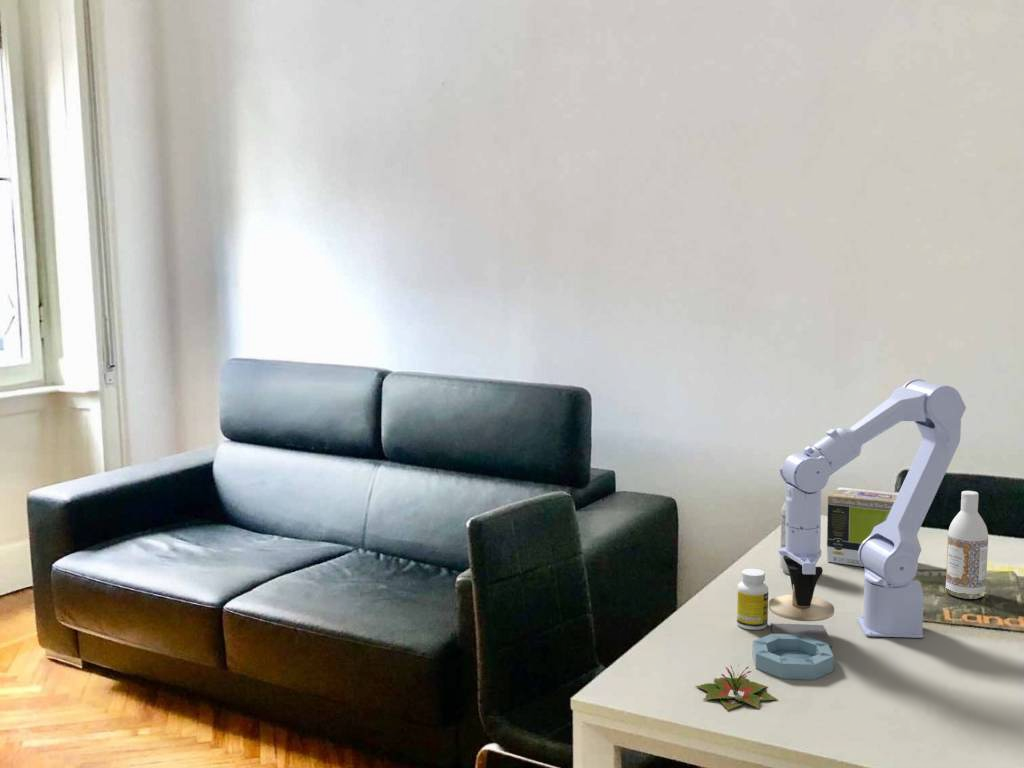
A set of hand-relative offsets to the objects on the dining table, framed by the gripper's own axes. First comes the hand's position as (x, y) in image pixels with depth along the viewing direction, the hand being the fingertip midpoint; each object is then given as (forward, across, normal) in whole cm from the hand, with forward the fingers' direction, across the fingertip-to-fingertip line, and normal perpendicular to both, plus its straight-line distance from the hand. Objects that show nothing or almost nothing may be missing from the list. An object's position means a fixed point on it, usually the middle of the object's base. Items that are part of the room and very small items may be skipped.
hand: (801, 601), depth 173 cm
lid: (+2, 0, 0) cm, 2 cm away
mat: (+6, 0, 0) cm, 6 cm away
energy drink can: (+7, -34, +4) cm, 35 cm away
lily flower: (+7, +24, -13) cm, 28 cm away
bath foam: (+7, -23, +34) cm, 42 cm away
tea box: (+7, -42, +20) cm, 47 cm away
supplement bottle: (+6, -4, -8) cm, 11 cm away
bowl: (+6, +12, -3) cm, 14 cm away
